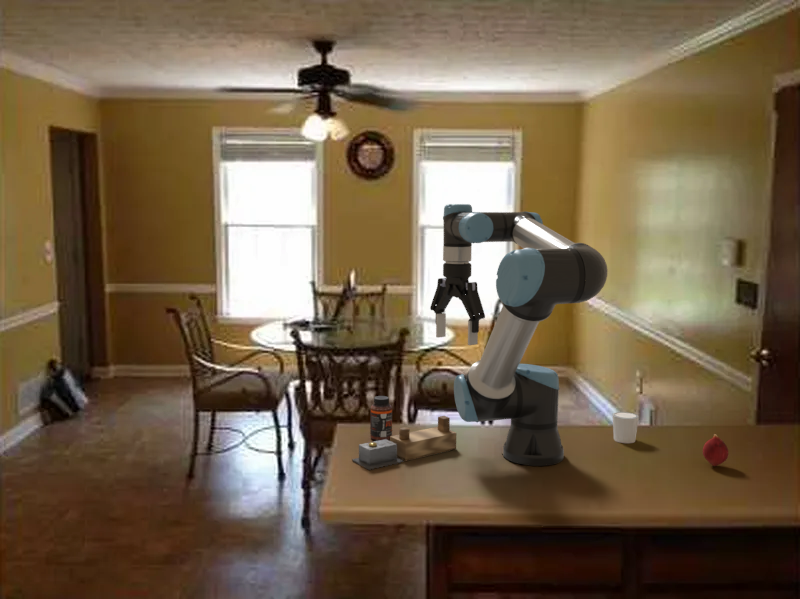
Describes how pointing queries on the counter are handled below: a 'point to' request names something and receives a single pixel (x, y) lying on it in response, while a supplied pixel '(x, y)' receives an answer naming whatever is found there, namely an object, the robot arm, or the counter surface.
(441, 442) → the body
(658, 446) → the counter surface
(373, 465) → the mat
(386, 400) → the supplement bottle
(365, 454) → the lever cap
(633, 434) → the white cup
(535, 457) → the robot arm
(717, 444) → the onion
